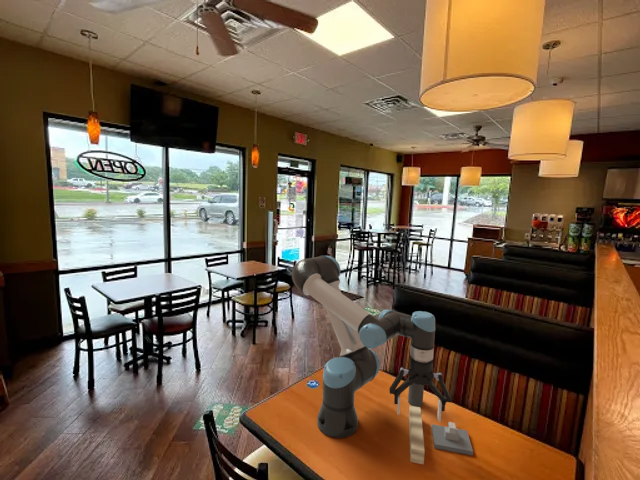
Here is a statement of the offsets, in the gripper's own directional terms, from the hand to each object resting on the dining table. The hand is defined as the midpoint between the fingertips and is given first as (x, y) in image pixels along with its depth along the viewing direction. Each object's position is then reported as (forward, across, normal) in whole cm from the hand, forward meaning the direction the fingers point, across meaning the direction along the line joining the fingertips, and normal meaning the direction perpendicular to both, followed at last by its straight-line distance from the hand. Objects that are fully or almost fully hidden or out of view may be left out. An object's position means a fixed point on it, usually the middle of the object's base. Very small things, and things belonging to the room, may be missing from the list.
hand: (418, 415), depth 110 cm
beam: (+9, 0, 0) cm, 9 cm away
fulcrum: (+9, +12, +2) cm, 15 cm away
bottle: (+9, 0, +21) cm, 23 cm away
